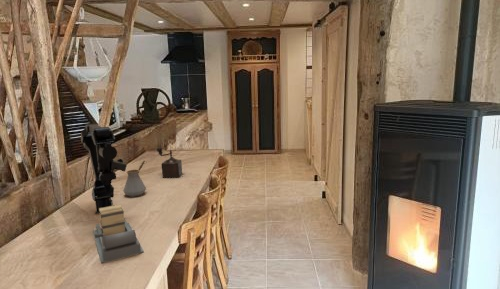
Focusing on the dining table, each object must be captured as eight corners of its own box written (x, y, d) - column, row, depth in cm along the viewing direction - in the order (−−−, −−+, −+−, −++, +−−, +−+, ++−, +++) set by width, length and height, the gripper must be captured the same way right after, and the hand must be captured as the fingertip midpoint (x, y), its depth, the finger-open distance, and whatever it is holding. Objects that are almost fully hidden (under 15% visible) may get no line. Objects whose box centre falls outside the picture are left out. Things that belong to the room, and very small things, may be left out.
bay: (90, 232, 143) (88, 210, 142) (128, 224, 150) (126, 202, 149) (98, 264, 118) (95, 237, 117) (143, 252, 125) (141, 227, 123)
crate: (101, 231, 142) (98, 208, 140) (122, 227, 146) (120, 204, 144) (103, 238, 136) (100, 214, 134) (125, 233, 140) (123, 209, 138)
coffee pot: (140, 198, 183) (138, 170, 180) (119, 198, 184) (116, 170, 181) (156, 185, 204) (154, 160, 201) (137, 185, 205) (135, 160, 202)
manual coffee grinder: (183, 173, 228) (181, 145, 225) (178, 178, 217) (176, 149, 214) (159, 173, 229) (157, 146, 226) (154, 178, 218) (151, 150, 215)
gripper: (127, 157, 146) (131, 194, 149) (121, 150, 163) (125, 183, 165) (97, 161, 141) (102, 198, 144) (95, 153, 158) (99, 187, 161)
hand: (108, 191), depth 154 cm, fingers closed
